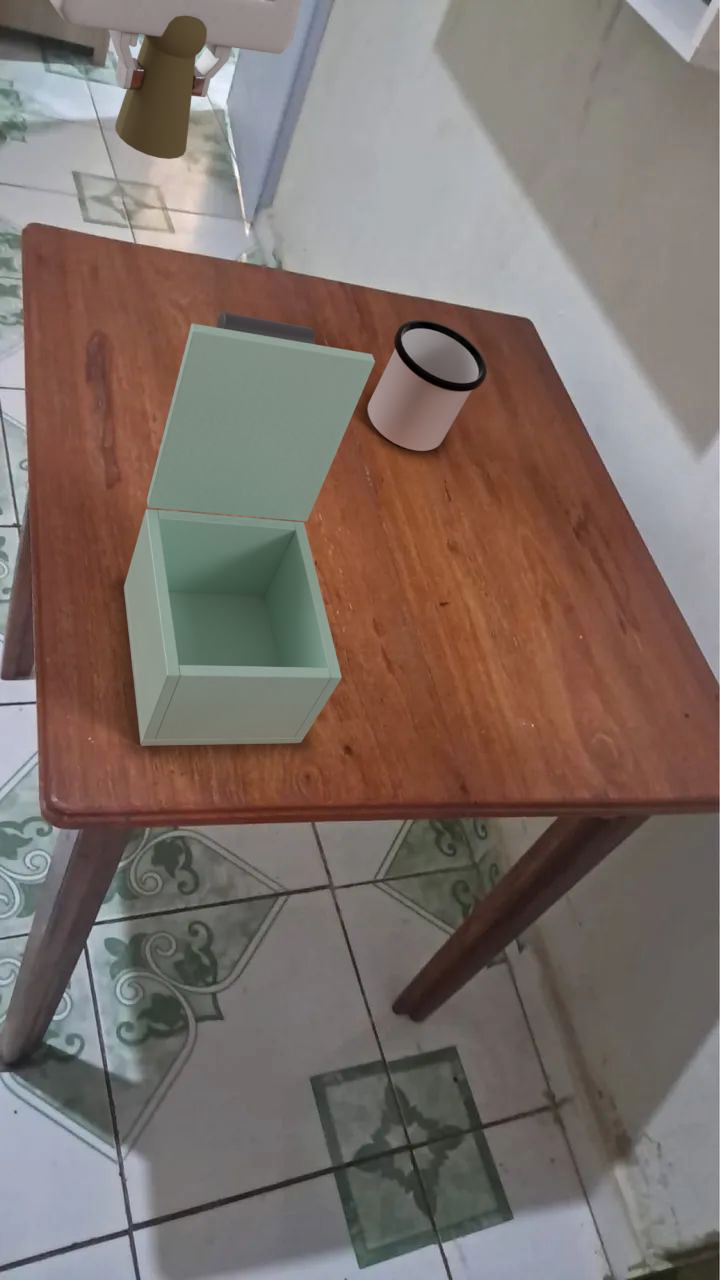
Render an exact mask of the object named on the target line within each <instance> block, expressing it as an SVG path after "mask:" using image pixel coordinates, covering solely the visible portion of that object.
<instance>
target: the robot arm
mask: <svg viewBox="0 0 720 1280" xmlns="http://www.w3.org/2000/svg"><path fill="white" fill-rule="evenodd" d="M49 3H51V5H52V7H53V8H54V9H55V11H56V12H57V13H58V15H59V16H60V17H61V19H62V20H63V21H64V22H65V23H67V24H69V25H73V26H80V27H86V28H87V27H88V28H93V29H94V28H95V29H101V30H107V31H108V32H109V36H110V39H111V42H112V45H113V47H114V50H115V54H116V56H117V64H116V69H115V80H116V83H117V84H118V86H120V88H121V89H123V90H127V89H131V90H140V89H141V86H142V83H141V81H142V79H143V76H144V71H145V70H144V69H143V68H142V66H141V65H139V62H138V61H137V58H136V57H133V55H132V52H131V48H130V47H132V48H135V47H137V45H138V40H139V35H143V36H145V35H149V36H156V37H161V36H162V35H163V33H164V31H165V30H166V28H167V26H168V24H169V23H170V22H171V21H172V20H173V19H174V18H175V17H178V16H192V17H195V18H198V19H200V20H201V21H203V23H204V25H205V27H206V28H207V38H206V42H205V45H204V47H206V48H205V49H204V50H203V52H202V54H201V55H200V56H199V58H198V59H197V61H195V68H194V78H193V87H192V97H196V98H197V97H199V98H206V97H207V95H208V92H209V87H210V83H211V79H213V78H214V77H215V76H216V75H217V74H218V73H219V72H220V70H222V68H223V67H224V66H225V65H226V63H227V62H229V59H230V56H231V52H232V48H234V49H239V50H248V51H254V52H261V53H269V54H275V55H280V54H282V53H284V51H285V50H286V49H287V48H289V46H290V45H291V44H292V42H293V40H294V37H295V33H296V29H297V25H298V20H299V15H300V10H301V6H302V5H301V4H302V0H49Z"/></svg>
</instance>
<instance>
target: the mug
mask: <svg viewBox="0 0 720 1280" xmlns="http://www.w3.org/2000/svg"><path fill="white" fill-rule="evenodd" d="M393 339H394V340H393V344H394V350H393V353H392V354H391V356H390V358H389V360H388V363H387V365H386V366H385V368H384V371H383V372H382V375H381V377H380V379H379V381H378V383H377V385H376V387H375V389H374V391H373V393H372V396H371V397H370V400H369V402H368V403H367V415H368V417H369V419H370V422H371V424H372V425H373V426H374V428H375V429H376V430H377V431H378V432H379V433H380V434H381V435H382V436H383V437H384V438H386V439H387V440H389V441H390V442H391V443H393V444H395V445H397V446H399V447H401V448H405V449H406V450H407V449H408V450H412V451H419V452H425V451H431V450H434V449H436V448H438V447H439V446H440V445H441V444H442V442H443V441H444V439H445V438H446V436H447V434H448V432H449V431H450V429H451V427H452V425H453V424H454V422H455V420H456V419H457V417H458V415H459V413H460V411H461V410H462V409H463V406H464V405H465V403H466V401H467V399H468V398H469V396H470V394H471V392H472V391H473V390H476V389H478V388H480V387H481V386H482V384H484V382H485V379H486V377H487V374H488V367H487V363H486V360H485V358H484V357H483V354H482V353H481V352H480V350H479V349H478V348H477V347H476V345H475V344H474V343H473V342H472V341H471V340H470V339H468V338H467V337H466V336H464V334H462V333H460V332H459V331H457V330H455V329H454V328H452V327H449V326H448V325H446V324H443V323H440V322H437V321H432V320H427V319H413V320H409V321H406V322H404V323H402V324H401V325H400V326H399V327H398V329H397V331H396V332H395V335H394V338H393Z"/></svg>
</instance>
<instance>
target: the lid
mask: <svg viewBox="0 0 720 1280" xmlns="http://www.w3.org/2000/svg"><path fill="white" fill-rule="evenodd" d="M315 338H316V337H315V331H314V329H313V328H312V327H309V326H304V325H300V324H299V325H298V324H292V323H287V322H282V321H276V320H271V319H264V318H259V317H253V316H248V315H244V314H243V315H242V314H236V313H231V312H225V311H222V312H220V314H219V316H218V318H217V322H216V326H209V325H203V324H199V323H191V325H190V328H189V332H188V336H187V340H186V344H185V348H184V352H183V356H182V360H181V363H180V367H179V371H178V375H177V380H176V384H175V387H174V391H173V394H172V399H171V403H170V407H169V411H168V415H167V419H166V423H165V427H164V431H163V433H162V434H163V435H162V438H161V442H160V446H159V450H158V454H157V458H156V462H155V467H154V470H153V474H152V478H151V482H150V485H149V489H148V494H147V497H146V502H147V509H157V510H168V511H180V512H191V513H203V514H214V515H226V516H237V517H249V518H260V519H271V520H283V521H294V522H308V520H309V519H310V516H311V514H312V511H313V508H314V506H315V504H316V501H317V499H318V497H319V494H320V492H321V490H322V487H323V485H324V482H325V480H326V478H327V475H328V473H329V471H330V468H331V466H332V464H333V461H334V460H335V457H336V454H337V452H338V449H339V447H340V444H341V443H342V440H343V438H344V436H345V433H346V431H347V428H348V426H349V424H350V421H351V419H352V417H353V415H354V412H355V410H356V407H357V405H358V403H359V400H360V398H361V396H362V393H363V391H364V389H365V387H366V384H367V381H368V379H369V377H370V375H371V372H372V370H373V367H374V366H375V363H376V360H375V358H374V355H373V354H372V353H367V352H361V351H356V350H351V349H345V348H340V347H339V348H338V347H333V346H326V345H320V344H316V343H315V341H316V340H315Z"/></svg>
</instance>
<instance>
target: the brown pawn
mask: <svg viewBox="0 0 720 1280" xmlns="http://www.w3.org/2000/svg"><path fill="white" fill-rule="evenodd" d="M143 36H144V37H143V39H142V41H141V42H142V43H141V46H140V48H139V51H138V55H137V58H136V60H137V61H138V62H139V65H141V66H142V68H143V69H144V70H145V71H144V76H143V79H142V81H141V83H142V86H141V89H140V90H131V89H126V91H125V95H124V97H123V100H122V103H121V105H120V109H119V112H118V115H117V118H116V121H115V124H114V129H115V132H116V134H117V136H118V137H119V138H120V139H121V140H122V141H123V142H124V143H125V144H126V145H127V146H128V147H131V148H132V149H134V150H136V151H138V152H140V153H142V154H145V155H146V156H150V157H154V158H157V159H165V160H172V159H179V158H181V157H183V156H184V155H185V153H186V151H187V144H188V136H189V135H188V133H189V126H190V125H189V124H190V116H191V115H190V114H191V107H192V106H191V105H192V97H193V96H192V87H193V78H194V68H195V64H196V58H197V55H199V54H200V53H201V52H202V51H203V49H204V47H205V42H206V38H207V28H206V27H205V25H204V23H203V21H201V20H200V19H198V18H195V17H192V16H178V17H175V18H174V19H173V20H172V21H171V22H170V23H169V24H168V26H167V28H166V30H165V31H164V33H163V35H162V36H161V37H156V36H149V35H143Z"/></svg>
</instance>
